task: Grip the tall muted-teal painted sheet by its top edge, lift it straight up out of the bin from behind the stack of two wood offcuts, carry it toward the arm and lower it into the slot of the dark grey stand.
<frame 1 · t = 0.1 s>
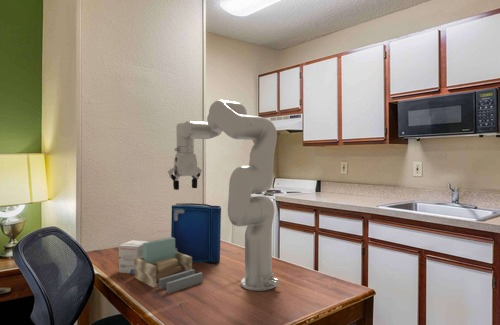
hand: (185, 188, 151), 31 cm above the table, tool pointing down, fingers open, 9 cm apart
offcut top: (165, 269, 123), point 4 cm above the table, touching offcut low
bin: (163, 279, 125), on the table
ink box: (134, 272, 133), on the table
sheet: (160, 274, 127), point 1 cm above the table, touching bin
book: (196, 262, 146), on the table
offcut low: (167, 278, 123), point 1 cm above the table, touching offcut top, bin
stand: (181, 287, 117), on the table
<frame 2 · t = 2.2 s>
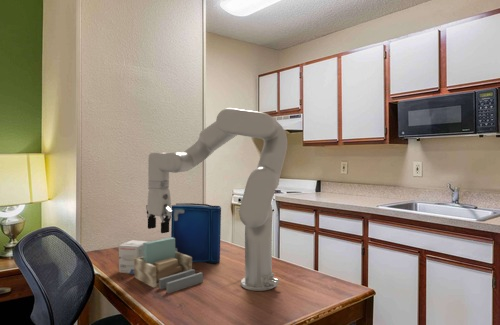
hand: (158, 230, 127), 18 cm above the table, tool pointing down, fingers open, 9 cm apart
nothing on the table moved.
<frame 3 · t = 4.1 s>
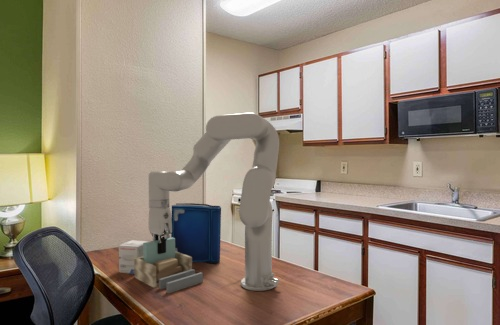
hand: (159, 251, 127), 10 cm above the table, tool pointing down, fingers closed on sheet, 2 cm apart
sheet: (160, 274, 127), point 1 cm above the table, touching gripper
everything else where it was.
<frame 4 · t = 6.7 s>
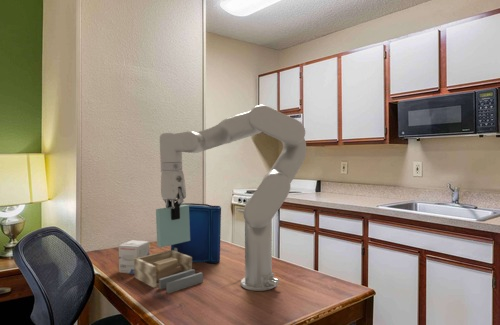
hand: (173, 218, 120), 24 cm above the table, tool pointing down, fingers closed on sheet
sheet: (174, 243, 120), point 15 cm above the table, touching gripper
everything else where it was.
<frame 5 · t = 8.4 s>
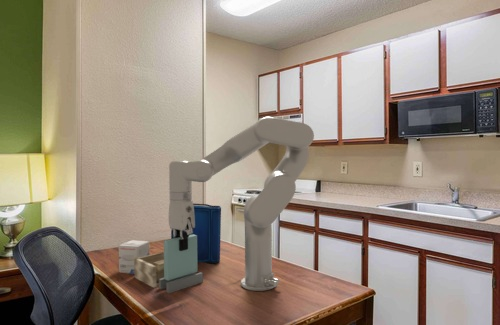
hand: (181, 248, 116), 14 cm above the table, tool pointing down, fingers closed on sheet
sheet: (181, 275, 117), point 5 cm above the table, touching gripper
everything else where it was.
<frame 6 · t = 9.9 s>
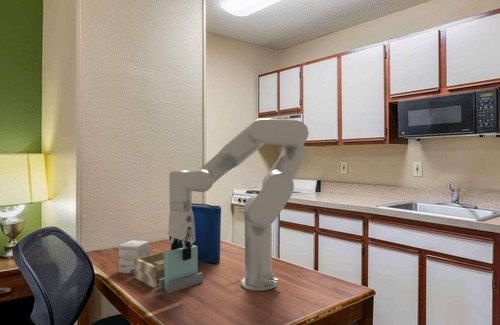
hand: (181, 257, 116), 11 cm above the table, tool pointing down, fingers open, 6 cm apart
sheet: (181, 286, 117), point 1 cm above the table, touching stand
everything else where it was.
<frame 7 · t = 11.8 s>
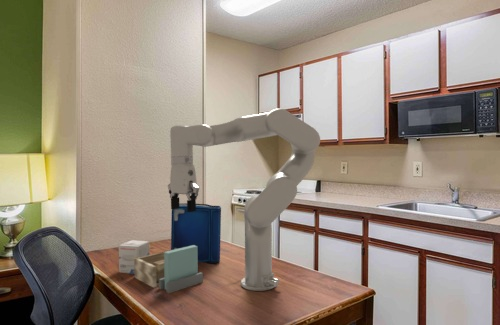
hand: (183, 210, 117), 27 cm above the table, tool pointing down, fingers open, 9 cm apart
nothing on the table moved.
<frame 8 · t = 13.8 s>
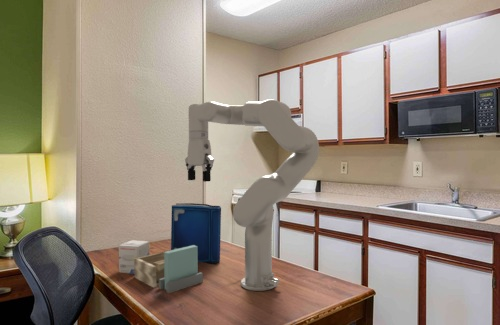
hand: (199, 180, 130), 36 cm above the table, tool pointing down, fingers open, 9 cm apart
nothing on the table moved.
at the end: sheet 0.1 cm off-centre on the stand, point 0.6 cm above the stand's base; sheet tilted 0°; the gripper is holding nothing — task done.
